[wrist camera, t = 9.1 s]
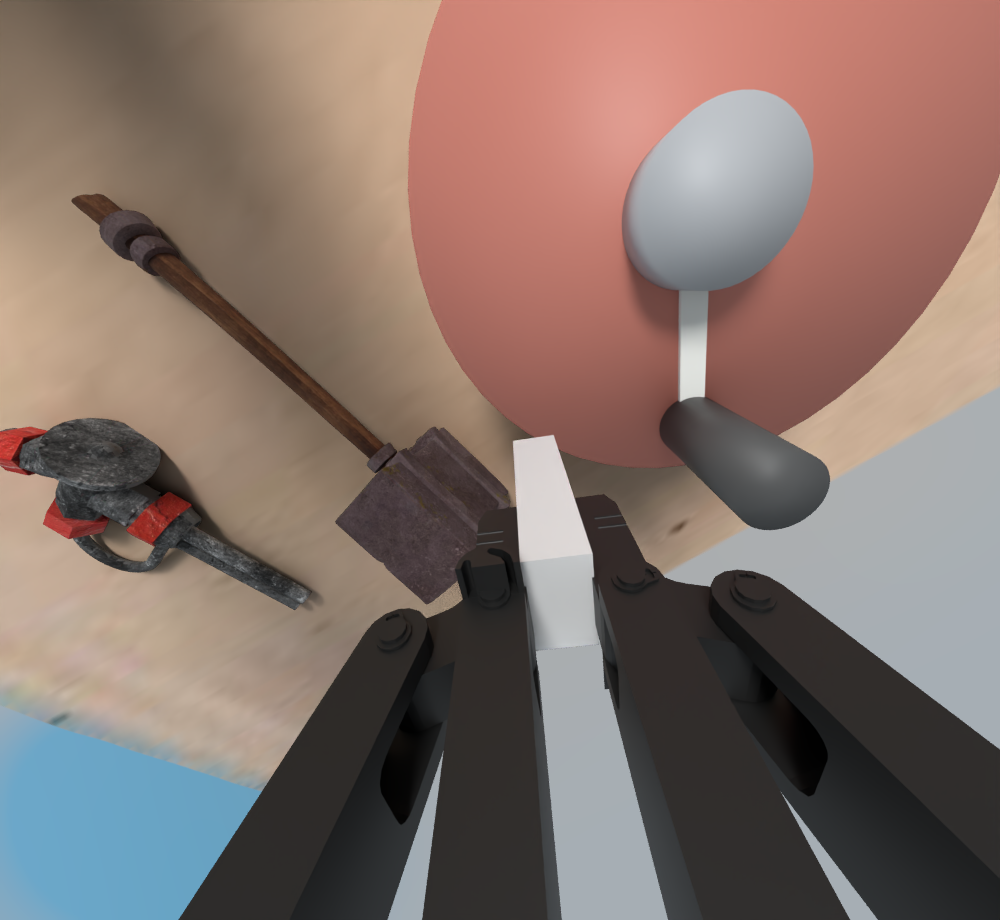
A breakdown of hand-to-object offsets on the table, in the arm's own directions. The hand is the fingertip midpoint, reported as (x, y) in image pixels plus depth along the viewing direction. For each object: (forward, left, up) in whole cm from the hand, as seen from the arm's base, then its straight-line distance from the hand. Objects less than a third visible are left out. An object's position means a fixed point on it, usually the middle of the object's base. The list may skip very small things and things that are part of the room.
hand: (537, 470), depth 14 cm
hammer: (+2, -15, -16) cm, 22 cm away
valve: (+18, -30, -16) cm, 39 cm away
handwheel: (-9, +4, -7) cm, 13 cm away
